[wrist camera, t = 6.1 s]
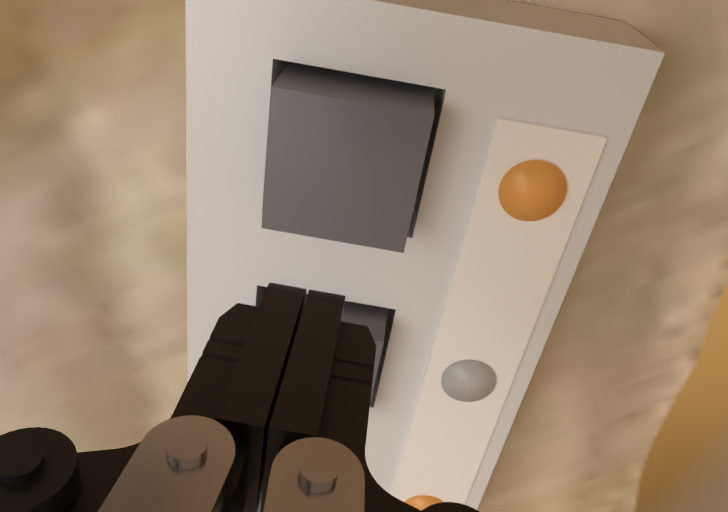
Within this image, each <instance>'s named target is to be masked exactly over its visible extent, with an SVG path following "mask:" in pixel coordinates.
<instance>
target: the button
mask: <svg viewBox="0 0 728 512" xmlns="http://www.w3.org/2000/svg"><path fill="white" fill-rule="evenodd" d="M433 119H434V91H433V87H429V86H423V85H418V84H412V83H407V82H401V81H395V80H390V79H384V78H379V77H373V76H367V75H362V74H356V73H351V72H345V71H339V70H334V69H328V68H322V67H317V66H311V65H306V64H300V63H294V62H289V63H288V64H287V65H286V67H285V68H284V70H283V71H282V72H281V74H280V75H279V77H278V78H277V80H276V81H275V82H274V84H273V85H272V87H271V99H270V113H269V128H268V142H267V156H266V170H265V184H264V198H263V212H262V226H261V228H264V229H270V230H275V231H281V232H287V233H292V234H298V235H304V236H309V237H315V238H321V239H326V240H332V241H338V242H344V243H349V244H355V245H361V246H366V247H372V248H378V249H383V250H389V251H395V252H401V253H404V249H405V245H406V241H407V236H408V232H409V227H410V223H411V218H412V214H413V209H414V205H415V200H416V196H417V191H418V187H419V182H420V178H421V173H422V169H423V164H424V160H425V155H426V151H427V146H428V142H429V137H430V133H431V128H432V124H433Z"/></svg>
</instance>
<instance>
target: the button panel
mask: <svg viewBox="0 0 728 512" xmlns="http://www.w3.org/2000/svg"><path fill="white" fill-rule="evenodd" d="M664 54H665V52H664V51H662V50H661V49H660V48H658V47H657V46H656V45H654V44H653V43H652V42H651V41H649V40H648V39H647V38H645V37H644V36H643V35H641V34H640V33H639V32H638V31H636V30H635V29H634V28H632V27H631V26H630V25H628V24H627V23H626V22H625V21H619V20H614V19H608V18H603V17H597V16H592V15H586V14H580V13H575V12H569V11H564V10H558V9H553V8H547V7H541V6H536V5H530V4H525V3H519V2H514V1H508V0H186V157H187V338H188V381H189V379H190V377H191V375H192V373H193V371H194V369H195V367H196V365H197V362H198V360H199V358H200V356H202V352H203V350H204V348H205V346H206V344H207V342H208V340H209V339H210V335H211V333H212V331H213V329H214V327H215V325H216V323H217V321H218V318H219V317H220V316H222V315H223V314H224V313H225V312H227V311H228V310H229V309H231V308H232V307H233V306H234V305H236V304H237V303H241V304H246V305H252V306H257V307H260V304H261V302H262V299H263V296H264V294H265V291H266V289H267V286H268V284H269V283H270V282H271V283H276V284H282V285H287V286H293V287H299V288H304V289H307V294H308V291H309V289H310V290H316V291H322V292H327V293H333V294H338V295H344V296H346V297H345V301H350V302H355V303H361V304H367V305H372V306H378V307H384V308H387V313H386V324H385V335H384V344H383V348H382V353H381V357H380V362H379V366H378V371H377V375H376V380H375V384H374V389H373V393H372V398H371V402H370V409H369V418H368V427H367V436H366V446H365V458H366V463H367V466H368V469H369V471H370V473H371V474H372V476H373V478H374V479H375V480H376V482H377V483H378V484H379V485H380V486H381V487H382V488H383V489H384V490H385V491H387V492H388V493H389V494H391V495H392V496H394V497H396V498H397V499H399V500H401V501H403V502H405V503H407V504H409V505H411V506H413V507H415V508H417V509H419V510H421V511H422V510H423V509H425V508H427V507H428V506H430V505H433V504H436V503H441V502H454V503H460V504H464V505H467V506H469V507H472V508H474V509H476V510H477V509H478V506H479V504H480V501H481V499H482V496H483V494H484V492H485V489H486V487H487V484H488V482H489V479H490V477H491V475H492V472H493V470H494V467H495V465H496V462H497V460H498V458H499V455H500V453H501V450H502V448H503V445H504V443H505V441H506V438H507V436H508V433H509V431H510V428H511V426H512V424H513V421H514V419H515V416H516V414H517V411H518V409H519V407H520V404H521V402H522V399H523V397H524V394H525V392H526V390H527V387H528V385H529V382H530V380H531V377H532V375H533V373H534V370H535V368H536V365H537V363H538V360H539V358H540V356H541V353H542V351H543V348H544V346H545V343H546V341H547V339H548V336H549V334H550V331H551V329H552V326H553V324H554V322H555V319H556V317H557V314H558V312H559V309H560V307H561V305H562V302H563V300H564V297H565V295H566V292H567V290H568V288H569V285H570V283H571V280H572V278H573V275H574V273H575V270H576V268H577V266H578V263H579V261H580V258H581V256H582V253H583V251H584V249H585V246H586V244H587V241H588V239H589V236H590V234H591V232H592V229H593V227H594V224H595V222H596V219H597V217H598V215H599V212H600V210H601V207H602V205H603V202H604V200H605V198H606V195H607V193H608V190H609V188H610V185H611V183H612V181H613V178H614V176H615V173H616V171H617V168H618V166H619V164H620V161H621V159H622V156H623V154H624V151H625V149H626V147H627V144H628V142H629V139H630V137H631V134H632V132H633V130H634V127H635V125H636V122H637V120H638V117H639V115H640V113H641V110H642V108H643V105H644V103H645V100H646V98H647V96H648V93H649V91H650V88H651V86H652V83H653V81H654V79H655V76H656V74H657V71H658V69H659V66H660V64H661V62H662V59H663V57H664ZM289 62H294V63H300V64H306V65H311V66H317V67H322V68H328V69H334V70H339V71H345V72H351V73H356V74H362V75H367V76H373V77H379V78H384V79H390V80H395V81H401V82H407V83H412V84H418V85H423V86H429V87H433V91H434V119H433V124H432V128H431V133H430V137H429V142H428V146H427V151H426V155H425V160H424V164H423V169H422V173H421V178H420V182H419V187H418V191H417V196H416V200H415V205H414V209H413V214H412V218H411V223H410V227H409V232H408V236H407V241H406V245H405V249H404V253H401V252H395V251H389V250H383V249H378V248H372V247H366V246H361V245H355V244H349V243H344V242H338V241H332V240H326V239H321V238H315V237H309V236H304V235H298V234H292V233H287V232H281V231H275V230H270V229H264V228H261V226H262V212H263V198H264V184H265V170H266V156H267V142H268V128H269V113H270V99H271V87H272V85H273V84H274V82H275V81H276V80H277V78H278V77H279V75H280V74H281V72H282V71H283V70H284V68H285V67H286V65H287V64H288V63H289Z"/></svg>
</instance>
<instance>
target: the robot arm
mask: <svg viewBox="0 0 728 512" xmlns="http://www.w3.org/2000/svg"><path fill="white" fill-rule="evenodd" d="M306 294H307V289H304V288H299V287H293V286H287V285H282V284H276V283H271V282H270V283H269V284H268V286H267V289H266V291H265V294H264V296H263V299H262V302H261V304H260V307H257V306H252V305H246V304H241V303H237V304H236V305H234V306H233V307H232V308H231V309H229V310H228V311H227V312H225V313H224V314H223V315H222V316H220V317H219V318H218V321H217V323H216V325H215V327H214V329H213V331H212V333H211V335H210V339H209V340H208V342H207V344H206V346H205V348H204V350H203V352H202V356H200V358H199V360H198V362H197V365H196V367H195V369H194V371H193V373H192V375H191V377H190V379H189V381H188V383H187V385H186V388H185V390H184V392H183V394H182V396H181V398H180V400H179V402H178V404H177V406H176V408H175V411H174V413H173V415H172V416H171V418H170V419H169V420H166V421H164V422H162V423H160V424H158V425H157V426H155V427H154V428H153V429H151V430H150V431H149V432H148V433H147V434H146V435H145V437H144V438H143V439H142V441H141V442H140V443H137V444H135V445H132V446H128V447H124V448H118V449H110V450H100V451H90V452H79V453H77V451H76V448H75V446H74V444H73V442H72V441H71V440H70V439H69V438H68V437H67V436H66V435H64V434H63V433H61V432H58V431H56V430H53V429H48V428H40V427H35V428H24V429H18V430H15V431H11V432H8V433H6V434H3V435H1V436H0V512H258V510H259V506H260V502H261V507H260V512H479V511H478V510H476V509H474V508H472V507H469V506H467V505H464V504H460V503H454V502H441V503H436V504H433V505H430V506H428V507H427V508H425V509H423V510H422V511H421V510H419V509H417V508H415V507H413V506H411V505H409V504H407V503H405V502H403V501H401V500H399V499H397V498H396V497H394V496H392V495H391V494H389V493H388V492H387V491H385V490H384V489H383V488H382V487H381V486H380V485H379V484H378V483H377V482H376V480H375V479H374V478H373V476H372V474H371V473H370V471H369V469H368V466H367V463H366V458H365V446H366V436H367V427H368V418H369V409H370V400H371V391H372V382H373V372H374V363H375V354H376V343H375V341H374V339H373V337H372V335H371V332H370V330H369V328H368V326H364V325H358V324H353V323H347V322H342V321H341V320H342V314H343V309H344V303H345V297H346V296H344V295H338V294H333V293H327V292H322V291H316V290H310V289H309V291H308V295H307V298H306Z"/></svg>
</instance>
